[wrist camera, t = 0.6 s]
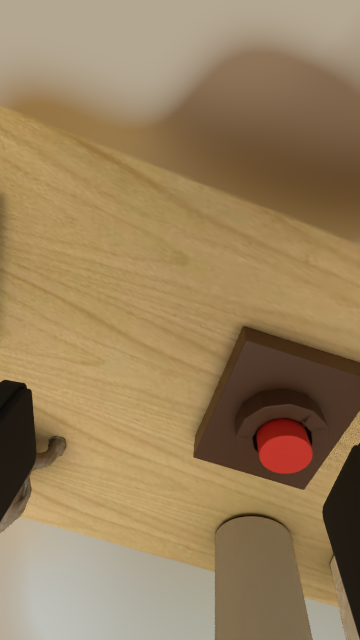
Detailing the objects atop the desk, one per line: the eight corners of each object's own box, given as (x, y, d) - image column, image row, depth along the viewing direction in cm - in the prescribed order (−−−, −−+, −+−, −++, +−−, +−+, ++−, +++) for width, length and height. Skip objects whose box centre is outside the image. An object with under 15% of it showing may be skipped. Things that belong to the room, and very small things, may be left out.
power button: (268, 411, 24) (271, 429, 22) (315, 426, 24) (322, 444, 22) (249, 446, 25) (251, 465, 24) (293, 460, 25) (298, 479, 24)
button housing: (243, 326, 25) (248, 353, 21) (367, 365, 25) (392, 398, 22) (194, 438, 30) (191, 475, 27) (298, 469, 31) (309, 510, 27)
